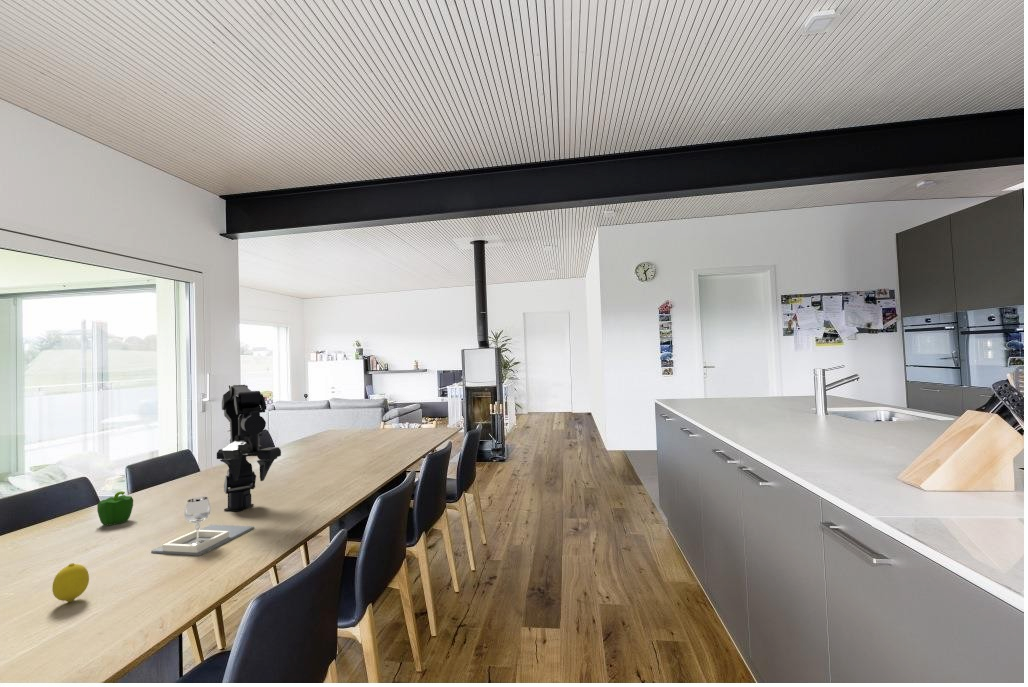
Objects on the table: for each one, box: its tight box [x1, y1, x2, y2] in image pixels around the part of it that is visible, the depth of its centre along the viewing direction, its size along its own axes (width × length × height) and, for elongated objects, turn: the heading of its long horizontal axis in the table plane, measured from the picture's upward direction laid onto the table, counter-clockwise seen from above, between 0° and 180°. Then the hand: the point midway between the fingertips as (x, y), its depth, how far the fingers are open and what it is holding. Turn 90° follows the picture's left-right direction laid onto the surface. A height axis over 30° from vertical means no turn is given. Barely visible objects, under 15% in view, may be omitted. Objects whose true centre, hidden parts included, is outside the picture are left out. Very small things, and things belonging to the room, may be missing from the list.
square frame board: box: [151, 524, 255, 557], centre depth 127 cm, size 15×19×2 cm
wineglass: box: [184, 496, 211, 545], centre depth 124 cm, size 6×6×12 cm
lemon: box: [51, 562, 90, 603], centre depth 95 cm, size 6×6×8 cm
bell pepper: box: [96, 490, 134, 526], centre depth 143 cm, size 8×8×10 cm
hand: (249, 480), depth 141 cm, fingers open, 9 cm apart
